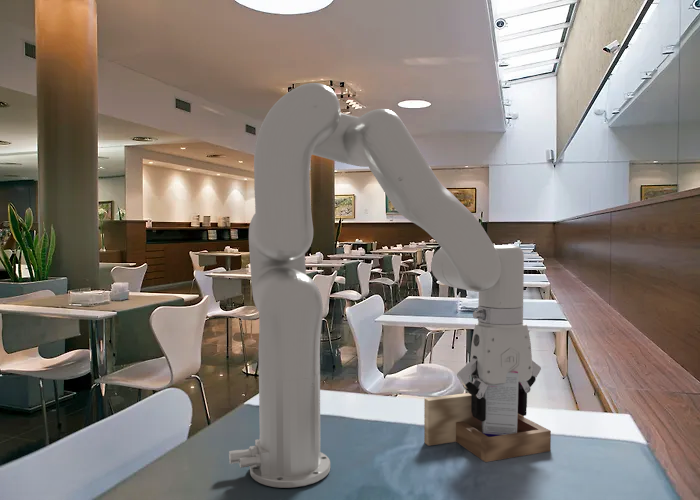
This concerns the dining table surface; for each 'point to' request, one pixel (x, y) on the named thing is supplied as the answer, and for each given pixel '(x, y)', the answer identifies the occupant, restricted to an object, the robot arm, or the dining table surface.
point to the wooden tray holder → (479, 430)
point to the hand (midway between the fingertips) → (499, 415)
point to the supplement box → (501, 407)
